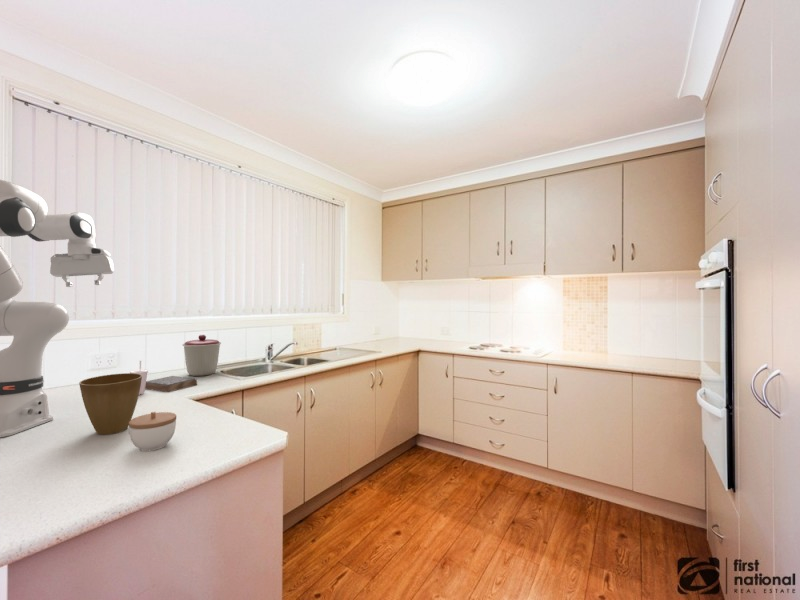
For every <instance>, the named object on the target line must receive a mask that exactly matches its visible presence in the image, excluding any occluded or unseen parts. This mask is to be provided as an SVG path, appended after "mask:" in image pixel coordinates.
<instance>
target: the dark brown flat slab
mask: <svg viewBox="0 0 800 600" xmlns="http://www.w3.org/2000/svg"><path fill="white" fill-rule="evenodd" d="M197 385H198V380H197V378H194V377H186V376H177V375H169V376H165V377H160V378H155V379H149V380H146V385H145V388H147V389H146V390H151V389H153V391H158V390H160V391H159V392H165V391H166V393H167V392H168V393H169V392H173V391H177V390H181V389H186V388H189V387H194V386H197Z"/></svg>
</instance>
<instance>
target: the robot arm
mask: <svg viewBox="0 0 800 600" xmlns="http://www.w3.org/2000/svg"><path fill="white" fill-rule="evenodd" d="M48 212H49V207H48V205H47V202H46V200H45V199H44V198H43V197H42V196H40V195H39V194H37V193H36V192H34V191H32V190H30V189H28V188H26V187H24V186H23V185H19V184H16V183H14V182H11V181H7V180H4V179H0V237H10V238H12V237H13V238H15V237H23V236H24V237H25V236H28V238H30V239H32V240H33V241H35V242H47V241H63V240H64V241H66V240H68V241H67V253H55V254H54V255H52V256H50V270H49V274H51V276H53V277H55V278H61V279H62V280H63V281H64V282H65V287H67V288H72V287H74V286H73V285H74V284H73V282H72V281H69V280H70V277H80V276H82V277H83V276H96V275H97V279H96V280H95V279H94V285H95V286H101V285H102V282H101V281H103V279H104V276H105V275H111V274H113V273H114V272H115V266H114V262H113V259H112V258H111V255H112V254H111V253H110V252H109V251H107V250H105V249H102V248H99V247H97V245H96V242H95V241H96V240H95V239H96V227H95V222H94V219H93V218H92V216H90V215H89V214H87V213H84V212H79V211H78V212H71V213H64V214H62V213H61V214H48ZM14 265H15V264H13V262H12V259H10V257H9V256H8V254H7V253H6V251H5V250H4V249H3V248H2V247H1V245H0V337H13V339H12V342H11V344H10V345H9V346H8V347H5V348H3V349H2V350H0V438H4V437H10V436H12V435H15V434H18V433H21V432H24V431H27V430H29V429H31V428H33V427H34V428H35V427H37V426H40V425H43V424H45V423H47V422H50V421H54V416H53V415H50V410H49V401H48V396H47V395H48V394H46V393H45V392H44V390H43V387H44V382H45V380H44V376H43V375H42V368H43V367H42V365H43V363H42V362H43V355H44V351H45V349H46V347H47V345H48V343H49V342H50V341H51V340H52V338H54V337H56V335H57V334H59V333H61V332H62V331H63V330H65V329H66V328H67V326H68V324H69V320H70V319H69V318H70V316H69V312H68V310H67V309H66V308H65V307H64V306H63V305H62V304H59V303H53V302H46V301H16V300H15V299H13V298H14V297H15V296H18V294H20V292H21V291H22V289H23V286H24V284H23V283H24V282H23V280H22V278H21V275H20V274H19V273H18V271H17V269H16V267H15V266H14Z"/></svg>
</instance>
